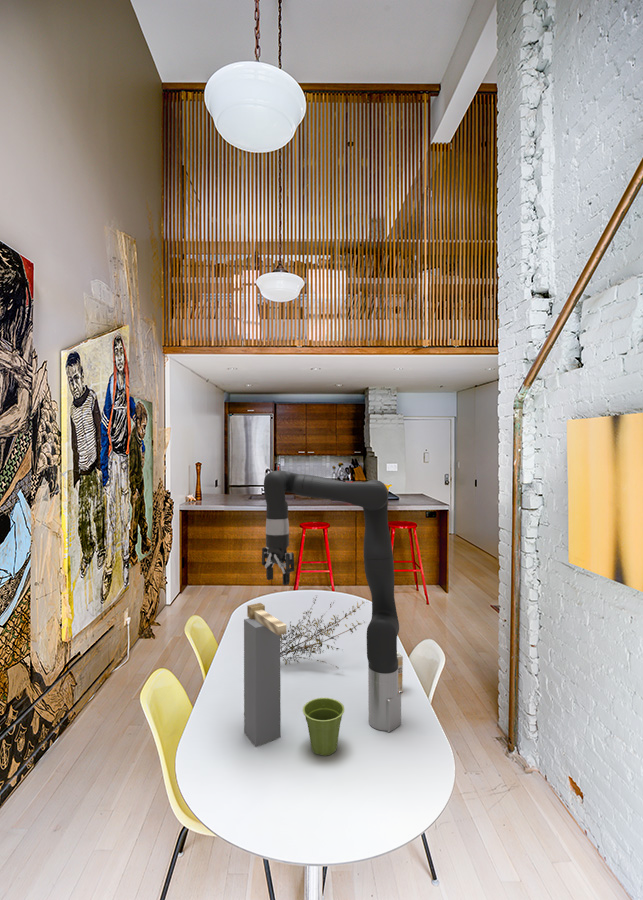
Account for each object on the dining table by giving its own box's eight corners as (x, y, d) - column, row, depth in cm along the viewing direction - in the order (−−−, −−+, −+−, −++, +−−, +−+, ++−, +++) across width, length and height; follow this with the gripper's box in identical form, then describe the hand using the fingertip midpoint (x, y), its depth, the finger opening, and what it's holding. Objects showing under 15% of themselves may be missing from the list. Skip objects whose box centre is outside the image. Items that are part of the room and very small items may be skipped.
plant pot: (320, 730, 139) (320, 693, 139) (352, 746, 131) (352, 706, 131) (294, 750, 130) (294, 710, 130) (326, 768, 122) (326, 726, 122)
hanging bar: (289, 632, 127) (289, 620, 127) (275, 636, 125) (275, 623, 125) (260, 613, 142) (260, 602, 142) (247, 616, 140) (247, 605, 140)
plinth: (280, 737, 135) (280, 621, 135) (255, 747, 131) (255, 627, 131) (268, 723, 142) (267, 614, 142) (244, 732, 137) (243, 619, 138)
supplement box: (381, 696, 158) (381, 658, 158) (375, 689, 162) (375, 652, 162) (403, 693, 160) (403, 655, 160) (397, 686, 164) (397, 650, 164)
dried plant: (250, 634, 167) (363, 583, 168) (264, 612, 198) (358, 568, 199) (284, 714, 164) (398, 662, 165) (292, 679, 195) (388, 634, 196)
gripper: (300, 533, 146) (300, 584, 146) (273, 528, 157) (273, 575, 157) (281, 536, 141) (282, 589, 141) (255, 530, 152) (255, 580, 152)
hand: (277, 582), depth 149 cm, fingers open, 8 cm apart
